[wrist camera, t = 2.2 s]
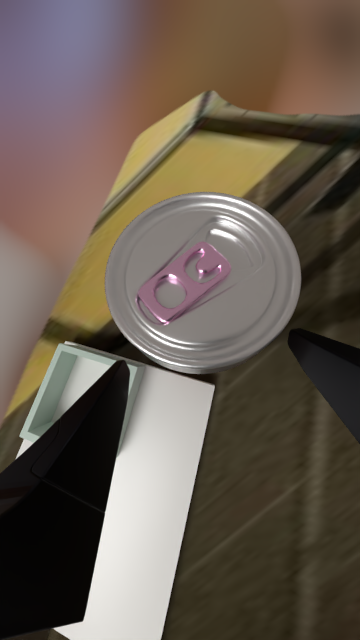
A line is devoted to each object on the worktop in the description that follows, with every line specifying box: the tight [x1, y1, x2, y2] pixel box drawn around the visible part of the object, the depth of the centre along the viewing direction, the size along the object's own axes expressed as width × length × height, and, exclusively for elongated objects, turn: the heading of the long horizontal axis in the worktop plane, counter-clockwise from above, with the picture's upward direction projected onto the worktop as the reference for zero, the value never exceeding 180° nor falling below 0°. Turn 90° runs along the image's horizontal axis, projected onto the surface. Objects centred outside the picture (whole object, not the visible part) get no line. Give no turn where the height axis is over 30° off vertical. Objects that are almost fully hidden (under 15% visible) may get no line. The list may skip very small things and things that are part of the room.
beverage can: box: [105, 192, 301, 374], centre depth 12 cm, size 6×6×15 cm
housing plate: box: [16, 341, 215, 640], centre depth 15 cm, size 22×18×4 cm
